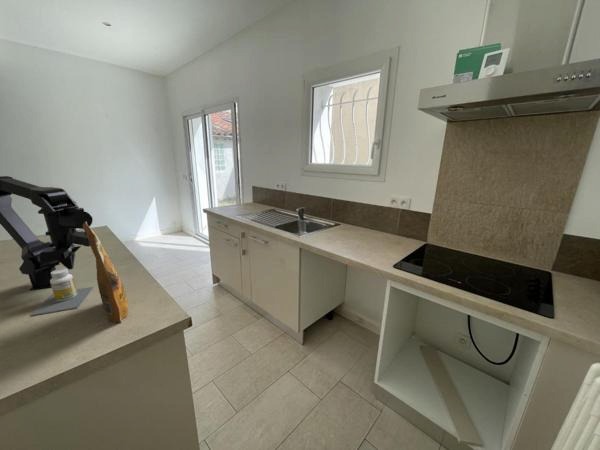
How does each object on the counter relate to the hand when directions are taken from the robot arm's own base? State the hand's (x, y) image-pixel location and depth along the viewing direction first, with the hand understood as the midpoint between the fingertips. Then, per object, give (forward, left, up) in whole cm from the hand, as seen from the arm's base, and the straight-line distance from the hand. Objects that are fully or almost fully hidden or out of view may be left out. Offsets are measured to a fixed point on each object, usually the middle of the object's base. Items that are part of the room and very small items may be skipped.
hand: (70, 268), depth 85 cm
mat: (0, -9, -8) cm, 11 cm away
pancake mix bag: (+17, -20, -8) cm, 27 cm away
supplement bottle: (0, -7, -7) cm, 10 cm away
